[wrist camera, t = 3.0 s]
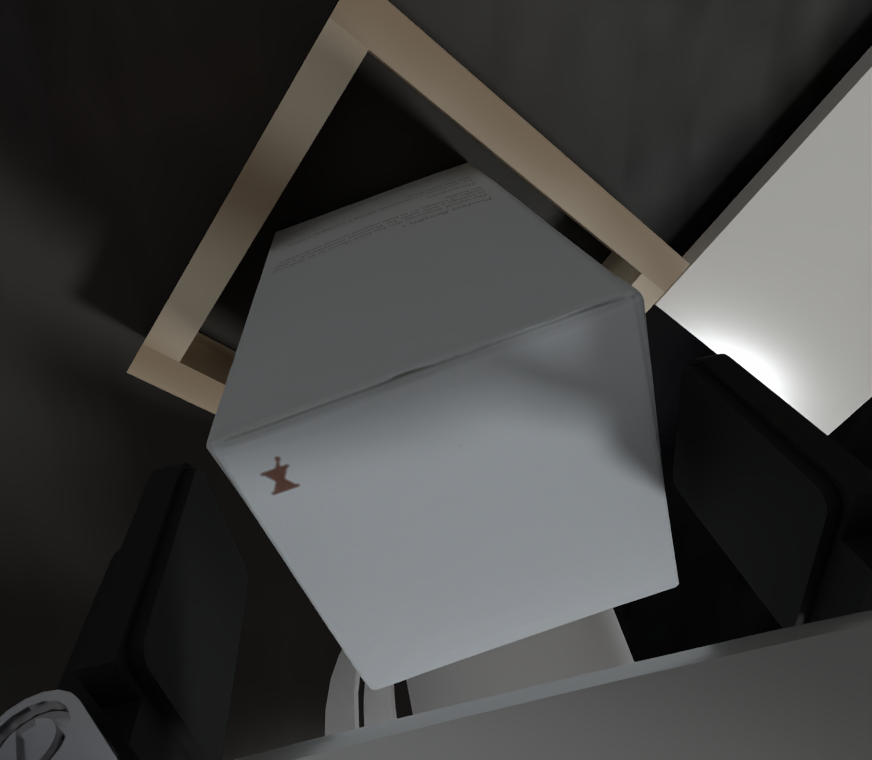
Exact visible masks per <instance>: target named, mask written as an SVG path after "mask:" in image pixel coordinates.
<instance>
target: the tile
mask: <svg viewBox="0 0 872 760" xmlns="http://www.w3.org/2000/svg"><path fill="white" fill-rule="evenodd" d="M682 258H683V259H684V260H686V261H687V262H688V263H689V264H690V265H689V266H688V267H687V268H686V269H685V270H684V271H683V272H682V274H681V275H680V276H679V277H678V278H677V279H676V280H675V281H674V282H673V283H672V285H671V286H670V287H669V288H668V289H667V290H666V291H665V292H664V293H663V295H662V296H661V297H660V298H659V299H658V300H657V301H656V302H655V303H654V304H655V305H657V306H658V307H659V308H660V309H662V310H663V311H664V312H665V313H667V314H668V315H669V316H670V317H672V318H673V319H674V320H675V321H677V322H678V323H679V324H680V325H682V326H683V327H684V328H685V329H687V330H688V331H689V332H690V333H692V334H693V335H694V336H695V337H697V338H698V339H699V340H700V341H702V342H703V343H704V344H705V345H707V346H708V347H709V348H710V349H712V350H713V351H714V352H715V353H717V354H726V355H728V356H730V357H731V358H732V359H733V360H735V361H736V362H737V363H738V364H740V365H741V366H742V367H743V368H745V369H746V370H747V371H748V372H750V373H751V374H752V375H753V376H754V377H756V378H757V379H758V380H759V381H761V382H762V383H763V384H764V385H766V386H767V387H768V388H769V389H771V390H772V391H773V392H774V393H776V394H777V395H778V396H779V397H780V398H782V399H783V400H784V401H785V402H787V403H788V404H789V405H790V406H792V407H793V408H794V409H795V410H797V411H798V412H799V413H800V414H802V415H803V416H804V417H805V418H807V419H808V420H809V421H810V422H811V423H813V424H814V425H815V426H816V427H818V428H819V429H820V430H821V431H823V432H824V433H825V434H826V435H829V434H830V433H831V432H832V431H833V430H834V429H836V428H837V427H838V426H839V425H840V424H841V423H842V422H843V421H845V420H846V419H847V418H848V417H849V416H850V415H851V414H853V413H854V412H855V411H856V410H857V409H858V408H859V407H860V406H862V405H863V404H864V403H865V402H866V401H867V400H868V399H869V398H871V397H872V46H871V47H870V48H869V49H868V50H867V52H866V53H865V54H864V55H863V56H862V57H861V58H860V59H859V60H858V62H857V63H856V64H855V65H854V66H853V67H852V68H851V69H850V70H849V72H848V73H847V74H846V75H845V76H844V77H843V78H842V79H841V81H840V82H839V83H838V84H837V85H836V86H835V87H834V88H833V89H832V91H831V92H830V93H829V94H828V95H827V96H826V97H825V98H824V99H823V101H822V102H821V103H820V104H819V105H818V106H817V107H816V108H815V110H814V111H813V112H812V113H811V114H810V115H809V116H808V117H807V118H806V120H805V121H804V122H803V123H802V124H801V125H800V126H799V127H798V128H797V130H796V131H795V132H794V133H793V134H792V135H791V136H790V137H789V139H788V140H787V141H786V142H785V143H784V144H783V145H782V146H781V147H780V149H779V150H778V151H777V152H776V153H775V154H774V155H773V156H772V157H771V159H770V160H769V161H768V162H767V163H766V164H765V165H764V166H763V167H762V169H761V170H760V171H759V172H758V173H757V174H756V175H755V176H754V178H753V179H752V180H751V181H750V182H749V183H748V184H747V185H746V186H745V188H744V189H743V190H742V191H741V192H740V193H739V194H738V195H737V196H736V198H735V199H734V200H733V201H732V202H731V203H730V204H729V205H728V207H727V208H726V209H725V210H724V211H723V212H722V213H721V214H720V215H719V217H718V218H717V219H716V220H715V221H714V222H713V223H712V224H711V225H710V227H709V228H708V229H707V230H706V231H705V232H704V233H703V234H702V236H701V237H700V238H699V239H698V240H697V241H696V242H695V243H694V244H693V246H692V247H691V248H690V249H689V250H688V251H687V252H686V253H685V254H684V256H683V257H682Z"/></svg>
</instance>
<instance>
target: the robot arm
mask: <svg viewBox="0 0 872 760" xmlns="http://www.w3.org/2000/svg"><path fill="white" fill-rule="evenodd" d="M673 479H674V483H675V485H676V488H677V490H678V491H679V493H680V494H681V495H682V497H683V498H684V499H685V501H686V502H687V503H688V504H689V506H690V507H691V508H692V510H693V511H694V512H695V514H696V515H697V516H698V518H699V519H700V520H701V522H702V523H703V524H704V525H705V527H706V528H707V529H708V531H709V532H710V533H711V535H712V536H713V537H714V539H715V540H716V541H717V543H718V544H719V545H720V547H721V548H722V549H723V550H724V552H725V553H726V554H727V556H728V557H729V558H730V560H731V561H732V562H733V564H734V565H735V566H736V568H737V569H738V570H739V571H740V573H741V574H742V575H743V577H744V578H745V579H746V581H747V582H748V583H749V585H750V586H751V587H752V589H753V590H754V591H755V592H756V594H757V595H758V596H759V598H760V599H761V600H762V602H763V603H764V604H765V606H766V607H767V608H768V610H769V611H770V612H771V614H772V615H773V616H774V617H775V619H776V620H777V621H778V623H779V624H780V625H781V626H782V627H783V629H779V630H774V631H770V632H765V633H761V634H756V635H752V636H748V637H743V638H739V639H735V640H730V641H726V642H722V643H717V644H713V645H709V646H704V647H700V648H696V649H691V650H687V651H682V652H678V653H674V654H669V655H665V656H661V657H656V658H652V659H648V660H643V661H639V662H635V663H630V664H626V665H622V666H618V667H613V668H609V669H605V670H600V671H596V672H592V673H588V674H583V675H579V676H575V677H571V678H566V679H562V680H558V681H554V682H549V683H545V684H541V685H537V686H532V687H528V688H524V689H520V690H516V691H511V692H507V693H503V694H499V695H494V696H490V697H486V698H482V699H477V700H473V701H469V702H465V703H461V704H456V705H452V706H448V707H444V708H440V709H436V710H431V711H427V712H423V713H419V714H415V715H411V716H407V717H402V718H398V719H394V720H390V721H386V722H382V723H378V724H373V725H369V726H365V727H361V728H357V729H353V730H349V731H344V732H340V733H336V734H332V735H328V736H324V737H320V738H315V739H311V740H307V741H303V742H299V743H295V744H292V745H288V746H284V747H280V748H276V749H272V750H268V751H265V752H261V753H257V754H253V755H249V756H245V757H241V758H238V759H234V760H872V471H871V470H870V469H868V468H867V467H866V466H865V465H863V464H862V463H861V462H860V461H859V460H857V459H856V458H855V457H854V456H852V455H851V454H850V453H849V452H847V451H846V450H845V449H844V448H842V447H841V446H840V445H839V444H837V443H836V442H835V441H834V440H833V439H831V438H830V437H829V436H828V435H826V434H825V433H824V432H823V431H821V430H820V429H819V428H818V427H816V426H815V425H814V424H813V423H811V422H810V421H809V420H808V419H807V418H805V417H804V416H803V415H802V414H800V413H799V412H798V411H797V410H795V409H794V408H793V407H792V406H790V405H789V404H788V403H787V402H785V401H784V400H783V399H782V398H780V397H779V396H778V395H777V394H776V393H774V392H773V391H772V390H771V389H769V388H768V387H767V386H766V385H764V384H763V383H762V382H761V381H759V380H758V379H757V378H756V377H754V376H753V375H752V374H751V373H750V372H748V371H747V370H746V369H745V368H743V367H742V366H741V365H740V364H738V363H737V362H736V361H735V360H733V359H732V358H731V357H730V356H728V355H726V354H716V355H711V356H706V357H701V358H697V359H694V360H692V362H691V363H690V367H689V368H686V369H684V371H683V374H682V382H681V392H680V403H679V413H678V424H677V435H676V445H675V456H674V466H673ZM247 589H248V573H247V569H246V566H245V563H244V561H243V559H242V557H241V554H240V552H239V550H238V548H237V546H236V543H235V541H234V539H233V537H232V535H231V532H230V530H229V528H228V526H227V523H226V521H225V519H224V517H223V515H222V512H221V510H220V508H219V506H218V504H217V501H216V499H215V497H214V495H213V493H212V490H211V488H210V486H209V484H208V482H207V479H206V477H205V475H204V473H203V471H202V470H201V469H194V470H193V469H192V467H191V466H190V465H189V464H187V463H184V464H179V465H174V466H169V467H165V468H160V469H156V470H154V471H153V472H152V474H151V476H150V479H149V481H148V484H147V486H146V489H145V491H144V494H143V496H142V498H141V501H140V503H139V506H138V508H137V511H136V513H135V516H134V518H133V521H132V523H131V525H130V528H129V530H128V533H127V535H126V538H125V540H124V543H123V545H122V547H121V549H120V550H119V551H118V552H116V553H115V554H114V556H113V558H112V559H111V561H110V564H109V566H108V569H107V571H106V573H105V576H104V578H103V580H102V583H101V585H100V588H99V590H98V592H97V595H96V597H95V600H94V602H93V604H92V607H91V609H90V612H89V614H88V616H87V619H86V621H85V624H84V626H83V628H82V631H81V633H80V636H79V638H78V640H77V643H76V645H75V647H74V650H73V652H72V655H71V657H70V659H69V662H68V664H67V667H66V669H65V671H64V674H63V676H62V679H61V681H60V683H59V686H58V688H57V690H53V691H46V692H42V693H39V694H37V695H34V696H32V697H29V698H27V699H25V700H23V701H22V702H20V703H18V704H17V705H15V706H14V707H12V708H10V709H9V710H7V711H6V712H5V713H4V714H3V715H2V716H1V717H0V760H222V755H223V749H224V742H225V736H226V729H227V722H228V716H229V709H230V702H231V696H232V689H233V682H234V676H235V669H236V662H237V656H238V649H239V642H240V636H241V629H242V622H243V616H244V609H245V602H246V596H247Z"/></svg>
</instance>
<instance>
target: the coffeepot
mask: <svg viewBox="0 0 872 760" xmlns="http://www.w3.org/2000/svg"><path fill="white" fill-rule="evenodd" d="M630 663H634V661H633V658H632V656H631V653H630V651H629V648H628V645H627V643H626V640H625V638H624V635H623V633H622V630H621V628H620V625H619V623H618V620H617V618H616V615H615V613H614V610H613V608H610V609H608V610H605V611H602V612H599V613H596V614H593V615H590V616H587V617H584V618H581V619H578V620H575V621H573V622H570V623H567V624H564V625H561V626H558V627H555V628H552V629H549V630H546V631H543V632H541V633H538V634H535V635H532V636H529V637H526V638H523V639H520V640H517V641H514V642H511V643H509V644H506V645H503V646H500V647H497V648H494V649H491V650H488V651H485V652H483V653H480V654H477V655H474V656H471V657H468V658H465V659H462V660H459V661H456V662H454V663H451V664H448V665H445V666H442V667H439V668H437V669H434V670H431V671H428V672H425V673H422V674H420V675H417V676H414V677H411V678H409V679H406V681H407V686H408V692H409V697H410V702H411V707H412V713H413V715H415V714H419V713H423V712H427V711H431V710H436V709H440V708H444V707H448V706H452V705H456V704H461V703H465V702H469V701H473V700H477V699H482V698H486V697H490V696H494V695H499V694H503V693H507V692H511V691H516V690H520V689H524V688H528V687H532V686H537V685H541V684H545V683H549V682H554V681H558V680H562V679H566V678H571V677H575V676H579V675H583V674H588V673H592V672H596V671H600V670H605V669H609V668H613V667H618V666H622V665H626V664H630ZM359 681H360V675H359V673H358V672H357V670H356V669H355V668H354V666H353V665H352V663H351V661H350V660H349V658H348V657H347V656H346V654H345V652H344V651H343V649H342V651H341V652H340V654H339V656H338V659H337V662H336V665H335V668H334V671H333V674H332V677H331V680H330V686H329V692H328V698H327V704H326V710H325V736H328V735H332V734H336V733H340V732H344V731H349V730H353V729H357V728H359V709H358V689H359ZM394 719H397V716H396V708H395V694H394V684H392V685H389V686H386V687H383V688H381V689H378V690H373V689H370V688H369V687H368V686H367V684H366V683H365V689H364V727H365V726H369V725H373V724H378V723H382V722H386V721H390V720H394Z"/></svg>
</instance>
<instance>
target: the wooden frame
mask: <svg viewBox="0 0 872 760" xmlns="http://www.w3.org/2000/svg"><path fill="white" fill-rule="evenodd" d="M367 52H368V53H369V54H371V55H372V56H373V57H374V58H376V59H377V60H378V61H379V62H381V63H382V64H383V65H384V66H385V67H387V68H388V69H389V70H390V71H392V72H393V73H394V74H395V75H396V76H398V77H399V78H400V79H401V80H403V81H404V82H405V83H406V84H407V85H409V86H410V87H411V88H412V89H414V90H415V91H416V92H417V93H418V94H420V95H421V96H422V97H423V98H425V99H426V100H427V101H428V102H429V103H431V104H432V105H433V106H434V107H436V108H437V109H438V110H439V111H440V112H442V113H443V114H444V115H445V116H447V117H448V118H449V119H450V120H451V121H453V122H454V123H455V124H456V125H458V126H459V127H460V128H461V129H462V130H464V131H465V132H466V133H467V134H469V135H470V136H471V137H472V138H473V139H475V140H476V141H477V142H478V143H480V144H481V145H482V146H483V147H484V148H486V149H487V150H488V151H489V152H491V153H492V154H493V155H494V156H495V157H497V158H498V159H499V160H500V161H502V162H503V163H504V164H505V165H506V166H508V167H509V168H510V169H511V170H513V171H514V172H515V173H516V174H517V175H519V176H520V177H521V178H522V179H524V180H525V181H526V182H527V183H528V184H530V185H531V186H532V187H533V188H535V189H536V190H537V191H538V192H540V193H541V194H542V195H543V196H544V197H546V198H547V199H548V200H549V201H551V202H552V203H553V204H554V205H555V206H557V207H558V208H559V209H560V210H562V211H563V212H564V213H565V214H566V215H568V216H569V217H570V218H571V219H573V220H574V221H575V222H576V223H577V224H579V225H580V226H581V227H582V228H584V229H585V230H586V231H587V232H588V233H590V234H591V235H592V236H593V237H595V238H596V239H597V240H598V241H599V242H601V243H602V244H603V245H604V246H606V247H607V248H608V249H609V250H610V251H612V252H611V254H610V255H609V256H608V257H607V258H606V260H605V261H604V262H603V263H602V264H601V265H602V266H604V267H605V268H606V269H608V270H609V271H611V272H612V273H614V274H615V275H616V276H618V277H619V278H621V279H622V280H624V281H625V282H627V283H628V284H630V285H631V286H633V287H634V288H636V289H637V290H638V291H640V293H641V294H642V296H643V298H644V305H645V313H646V312H647V311H648V310H649V309H650V308H651V307H652V306H653V304H654V303H655V302H656V301H657V300H658V299H659V298H660V297H661V296H662V295H663V293H664V292H665V291H666V290H667V289H668V288H669V287H670V286H671V285H672V283H673V282H674V281H675V280H676V279H677V278H678V277H679V276H680V275H681V274H682V272H683V271H684V270H685V269H686V268H687V267H688V266H689V265H690V264H689V263H688V262H687V261H686V260H684V259H683V258H682V257H681V256H680V255H679V254H678V253H676V252H675V251H674V250H673V249H672V248H671V247H670V246H668V245H667V244H666V243H665V242H664V241H663V240H662V239H660V238H659V237H658V236H657V235H656V234H655V233H654V232H652V231H651V230H650V229H649V228H648V227H647V226H646V225H644V224H643V223H642V222H641V221H640V220H639V219H637V218H636V217H635V216H634V215H633V214H632V213H631V212H629V211H628V210H627V209H626V208H625V207H624V206H623V205H621V204H620V203H619V202H618V201H617V200H616V199H615V198H613V197H612V196H611V195H610V194H609V193H608V192H607V191H605V190H604V189H603V188H602V187H601V186H600V185H599V184H597V183H596V182H595V181H594V180H593V179H592V178H590V177H589V176H588V175H587V174H586V173H585V172H584V171H582V170H581V169H580V168H579V167H578V166H577V165H576V164H574V163H573V162H572V161H571V160H570V159H569V158H568V157H566V156H565V155H564V154H563V153H562V152H561V151H560V150H558V149H557V148H556V147H555V146H554V145H553V144H552V143H550V142H549V141H548V140H547V139H546V138H545V137H543V136H542V135H541V134H540V133H539V132H538V131H537V130H535V129H534V128H533V127H532V126H531V125H530V124H529V123H527V122H526V121H525V120H524V119H523V118H522V117H521V116H519V115H518V114H517V113H516V112H515V111H514V110H513V109H511V108H510V107H509V106H508V105H507V104H506V103H505V102H503V101H502V100H501V99H500V98H499V97H498V96H496V95H495V94H494V93H493V92H492V91H491V90H490V89H488V88H487V87H486V86H485V85H484V84H483V83H482V82H480V81H479V80H478V79H477V78H476V77H475V76H474V75H472V74H471V73H470V72H469V71H468V70H467V69H466V68H464V67H463V66H462V65H461V64H460V63H459V62H458V61H456V60H455V59H454V58H453V57H452V56H451V55H449V54H448V53H447V52H446V51H445V50H444V49H443V48H441V47H440V46H439V45H438V44H437V43H436V42H435V41H433V40H432V39H431V38H430V37H429V36H428V35H427V34H425V33H424V32H423V31H422V30H421V29H420V28H419V27H417V26H416V25H415V24H414V23H413V22H412V21H411V20H409V19H408V18H407V17H406V16H405V15H404V14H402V13H401V12H400V11H399V10H398V9H397V8H396V7H394V6H393V5H392V4H391V3H390V2H389V1H388V0H339V2H338V3H337V5H336V7H335V9H334V10H333V12H332V14H331V16H330V17H329V19H328V21H327V23H326V24H325V26H324V28H323V30H322V31H321V33H320V35H319V37H318V38H317V40H316V42H315V44H314V45H313V47H312V49H311V51H310V52H309V54H308V56H307V58H306V59H305V61H304V63H303V65H302V66H301V68H300V70H299V72H298V73H297V75H296V77H295V79H294V80H293V82H292V84H291V86H290V87H289V89H288V91H287V93H286V94H285V96H284V98H283V100H282V101H281V103H280V105H279V107H278V108H277V110H276V112H275V114H274V115H273V117H272V119H271V121H270V122H269V124H268V126H267V128H266V129H265V131H264V133H263V135H262V136H261V138H260V140H259V142H258V143H257V145H256V147H255V149H254V150H253V152H252V154H251V156H250V157H249V159H248V161H247V163H246V164H245V166H244V168H243V170H242V171H241V173H240V175H239V177H238V178H237V180H236V182H235V184H234V185H233V187H232V189H231V191H230V192H229V194H228V196H227V198H226V199H225V201H224V203H223V205H222V206H221V208H220V210H219V212H218V213H217V215H216V217H215V219H214V220H213V222H212V224H211V226H210V227H209V229H208V231H207V233H206V234H205V236H204V238H203V240H202V241H201V243H200V245H199V247H198V248H197V250H196V252H195V254H194V255H193V257H192V259H191V261H190V262H189V264H188V266H187V268H186V269H185V271H184V273H183V275H182V276H181V278H180V280H179V282H178V283H177V285H176V287H175V289H174V290H173V292H172V294H171V296H170V297H169V299H168V301H167V303H166V304H165V306H164V308H163V310H162V311H161V313H160V315H159V317H158V318H157V320H156V322H155V324H154V325H153V327H152V329H151V331H150V332H149V334H148V336H147V338H146V339H145V341H144V343H143V345H142V346H141V348H140V350H139V352H138V353H137V355H136V357H135V359H134V360H133V362H132V364H131V366H130V367H129V369H128V371H127V373H129V374H131V375H133V376H135V377H137V378H139V379H141V380H144V381H146V382H148V383H150V384H152V385H154V386H156V387H158V388H160V389H163V390H165V391H167V392H169V393H171V394H173V395H175V396H177V397H180V398H182V399H184V400H186V401H188V402H190V403H192V404H194V405H196V406H199V407H201V408H203V409H205V410H207V411H209V412H211V413H213V414H215V415H216V412H217V409H218V406H219V403H220V400H221V397H222V394H223V391H224V388H225V385H226V381H227V378H228V375H229V372H230V369H231V366H232V364H233V361H234V357H235V354H236V352H235V351H234V350H232V349H230V348H228V347H226V346H224V345H222V344H220V343H218V342H216V341H214V340H213V339H211V338H209V337H207V336H205V335H203V334H201V333H199V332H198V331H199V329H200V328H201V326H202V324H203V323H204V321H205V319H206V318H207V316H208V314H209V313H210V311H211V309H212V308H213V306H214V304H215V303H216V301H217V299H218V298H219V296H220V295H221V293H222V291H223V290H224V288H225V286H226V285H227V283H228V281H229V280H230V278H231V276H232V275H233V273H234V271H235V270H236V268H237V266H238V265H239V263H240V261H241V260H242V258H243V257H244V255H245V253H246V252H247V250H248V248H249V247H250V245H251V243H252V242H253V240H254V238H255V237H256V235H257V233H258V232H259V230H260V228H261V227H262V225H263V223H264V222H265V220H266V219H267V217H268V215H269V214H270V212H271V210H272V209H273V207H274V205H275V204H276V202H277V200H278V199H279V197H280V195H281V194H282V192H283V190H284V189H285V187H286V185H287V184H288V182H289V181H290V179H291V177H292V176H293V174H294V172H295V171H296V169H297V167H298V166H299V164H300V162H301V161H302V159H303V157H304V156H305V154H306V152H307V151H308V149H309V147H310V146H311V144H312V143H313V141H314V139H315V138H316V136H317V134H318V133H319V131H320V129H321V128H322V126H323V124H324V123H325V121H326V119H327V118H328V116H329V114H330V113H331V111H332V109H333V108H334V106H335V105H336V103H337V101H338V100H339V98H340V96H341V95H342V93H343V91H344V90H345V88H346V86H347V85H348V83H349V81H350V80H351V78H352V76H353V75H354V73H355V71H356V70H357V68H358V67H359V65H360V63H361V62H362V60H363V58H364V57H365V55H366V53H367Z"/></svg>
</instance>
